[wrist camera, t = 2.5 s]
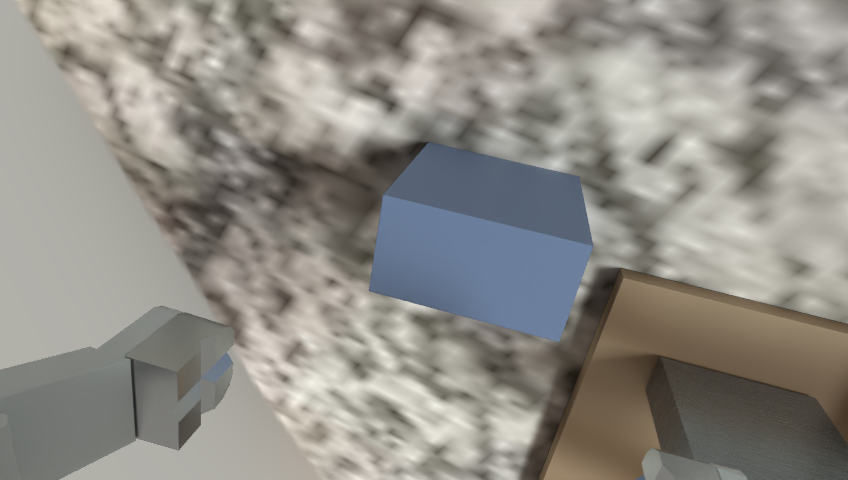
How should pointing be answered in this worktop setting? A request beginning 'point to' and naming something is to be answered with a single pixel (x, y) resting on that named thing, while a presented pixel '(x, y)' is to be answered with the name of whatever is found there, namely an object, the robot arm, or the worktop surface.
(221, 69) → the worktop surface
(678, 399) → the bookend
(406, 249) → the blue block
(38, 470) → the robot arm
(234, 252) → the worktop surface
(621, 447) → the rack
